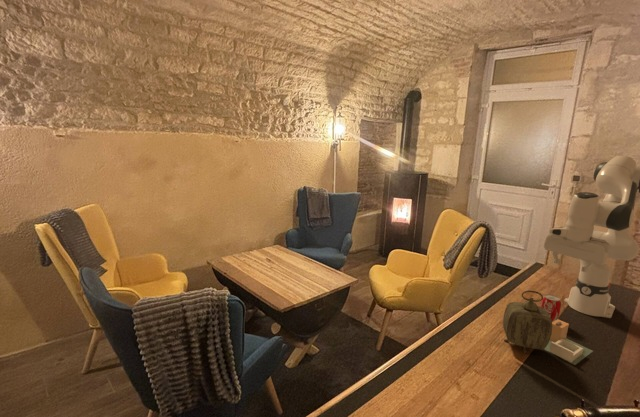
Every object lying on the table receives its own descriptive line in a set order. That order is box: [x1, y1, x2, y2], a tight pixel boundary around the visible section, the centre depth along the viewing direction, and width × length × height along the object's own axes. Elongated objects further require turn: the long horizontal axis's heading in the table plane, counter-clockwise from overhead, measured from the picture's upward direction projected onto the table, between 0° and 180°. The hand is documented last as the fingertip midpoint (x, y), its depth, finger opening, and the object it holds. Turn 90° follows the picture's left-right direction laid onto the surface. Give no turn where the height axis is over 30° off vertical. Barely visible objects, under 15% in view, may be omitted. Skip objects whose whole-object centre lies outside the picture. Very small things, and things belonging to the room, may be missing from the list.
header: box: [549, 339, 583, 363], centre depth 125 cm, size 9×7×4 cm
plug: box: [550, 318, 570, 342], centre depth 133 cm, size 6×4×8 cm, turn 122°
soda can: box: [540, 294, 562, 322], centre depth 147 cm, size 7×7×12 cm
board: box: [543, 338, 594, 366], centre depth 131 cm, size 16×20×1 cm
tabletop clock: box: [502, 290, 552, 354], centre depth 125 cm, size 14×9×25 cm, turn 71°
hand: (570, 267), depth 131 cm, fingers open, 8 cm apart
